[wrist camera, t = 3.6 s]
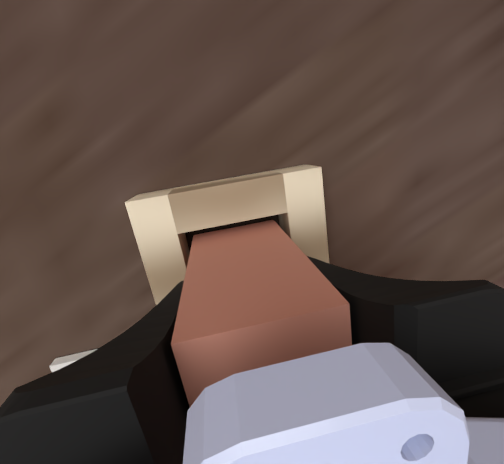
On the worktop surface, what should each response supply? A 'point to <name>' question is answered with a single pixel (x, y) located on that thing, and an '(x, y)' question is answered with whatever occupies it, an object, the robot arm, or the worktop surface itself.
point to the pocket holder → (226, 217)
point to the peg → (252, 306)
